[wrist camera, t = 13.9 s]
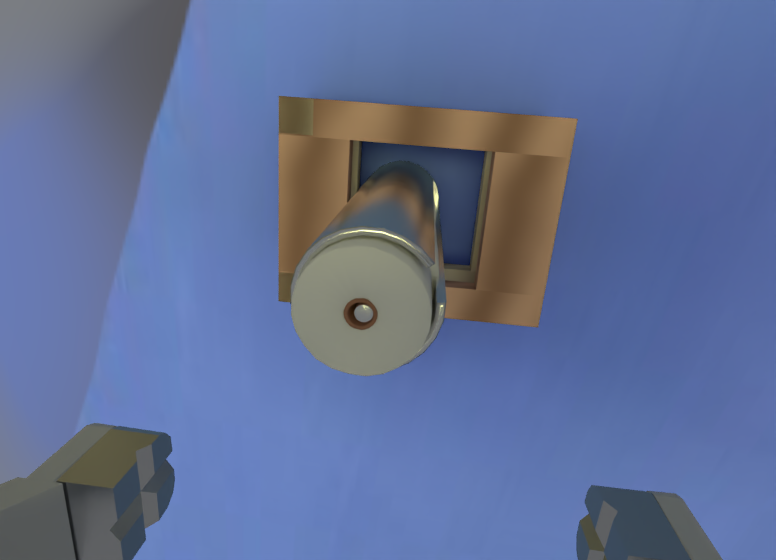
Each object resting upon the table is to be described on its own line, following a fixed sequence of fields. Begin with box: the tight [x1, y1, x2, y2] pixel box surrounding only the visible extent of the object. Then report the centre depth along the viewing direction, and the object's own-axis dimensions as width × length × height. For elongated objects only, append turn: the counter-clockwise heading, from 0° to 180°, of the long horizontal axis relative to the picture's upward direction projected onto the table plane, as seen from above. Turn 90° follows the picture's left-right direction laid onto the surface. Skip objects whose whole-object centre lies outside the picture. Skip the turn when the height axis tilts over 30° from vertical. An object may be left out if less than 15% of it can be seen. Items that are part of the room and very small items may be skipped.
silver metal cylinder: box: [290, 160, 447, 376], centre depth 31 cm, size 6×6×25 cm
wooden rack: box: [279, 96, 578, 327], centre depth 38 cm, size 20×15×8 cm
